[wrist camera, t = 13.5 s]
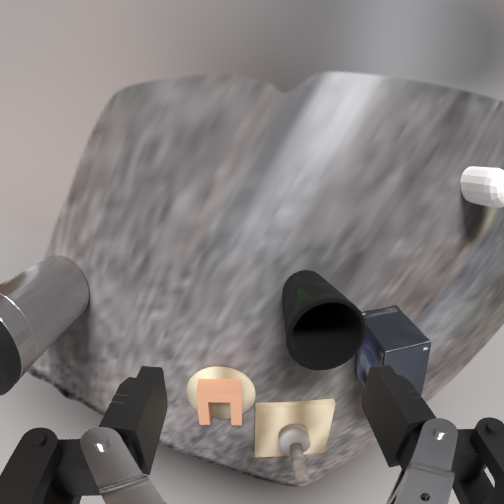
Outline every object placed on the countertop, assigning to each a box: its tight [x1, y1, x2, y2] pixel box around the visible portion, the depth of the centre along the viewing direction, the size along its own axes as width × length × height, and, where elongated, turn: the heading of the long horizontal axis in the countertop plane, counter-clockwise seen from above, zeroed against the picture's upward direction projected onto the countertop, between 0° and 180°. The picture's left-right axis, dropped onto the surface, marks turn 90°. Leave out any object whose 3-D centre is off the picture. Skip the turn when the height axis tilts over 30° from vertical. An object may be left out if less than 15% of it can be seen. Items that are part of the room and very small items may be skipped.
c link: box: [196, 378, 242, 425], centre depth 42 cm, size 6×6×4 cm
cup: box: [283, 270, 366, 370], centre depth 35 cm, size 8×8×12 cm
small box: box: [356, 306, 431, 395], centre depth 38 cm, size 11×6×10 cm, turn 7°
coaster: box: [186, 366, 255, 419], centre depth 44 cm, size 10×10×1 cm
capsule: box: [460, 167, 504, 208], centre depth 34 cm, size 5×5×8 cm
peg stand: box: [254, 399, 335, 484], centre depth 41 cm, size 12×12×11 cm
